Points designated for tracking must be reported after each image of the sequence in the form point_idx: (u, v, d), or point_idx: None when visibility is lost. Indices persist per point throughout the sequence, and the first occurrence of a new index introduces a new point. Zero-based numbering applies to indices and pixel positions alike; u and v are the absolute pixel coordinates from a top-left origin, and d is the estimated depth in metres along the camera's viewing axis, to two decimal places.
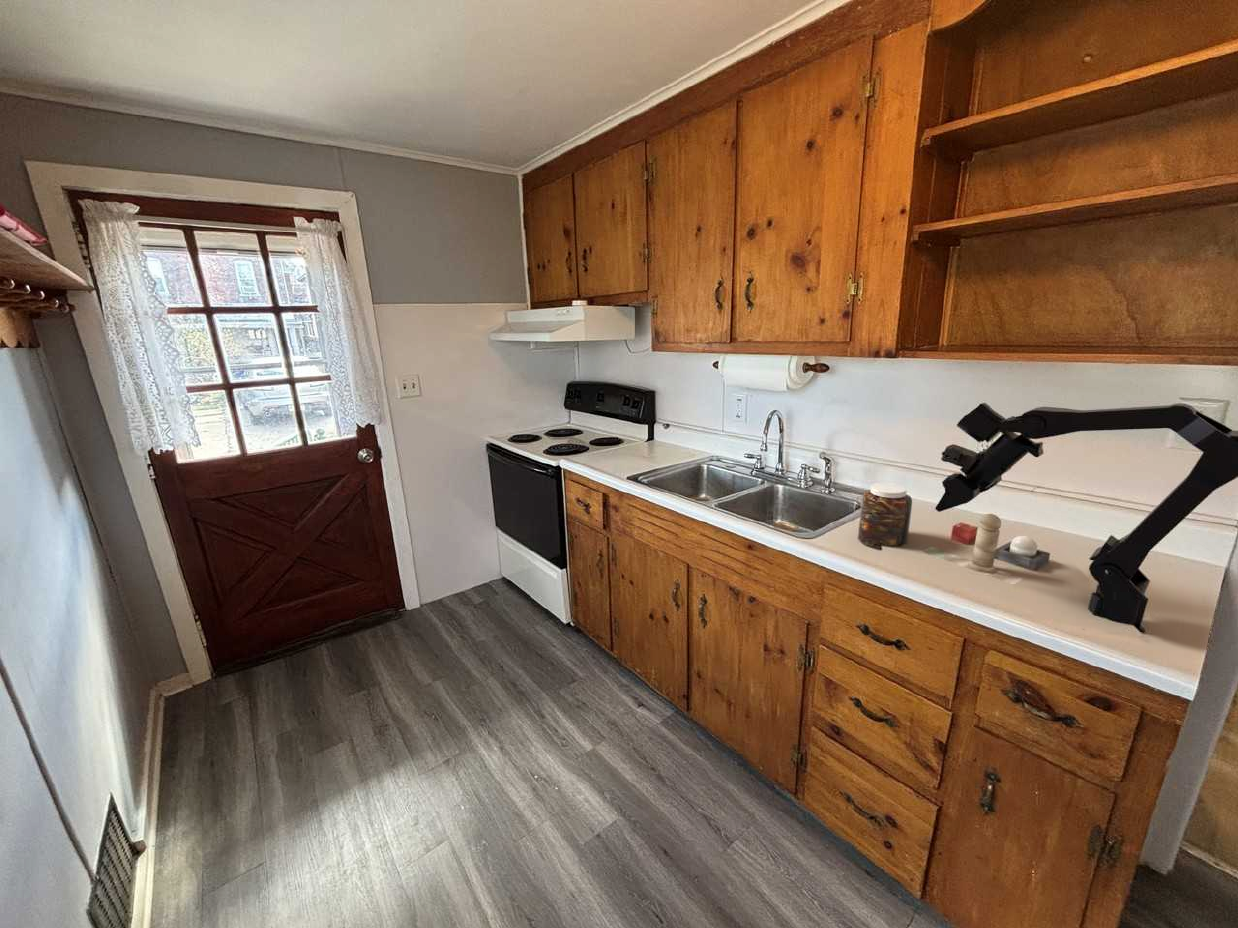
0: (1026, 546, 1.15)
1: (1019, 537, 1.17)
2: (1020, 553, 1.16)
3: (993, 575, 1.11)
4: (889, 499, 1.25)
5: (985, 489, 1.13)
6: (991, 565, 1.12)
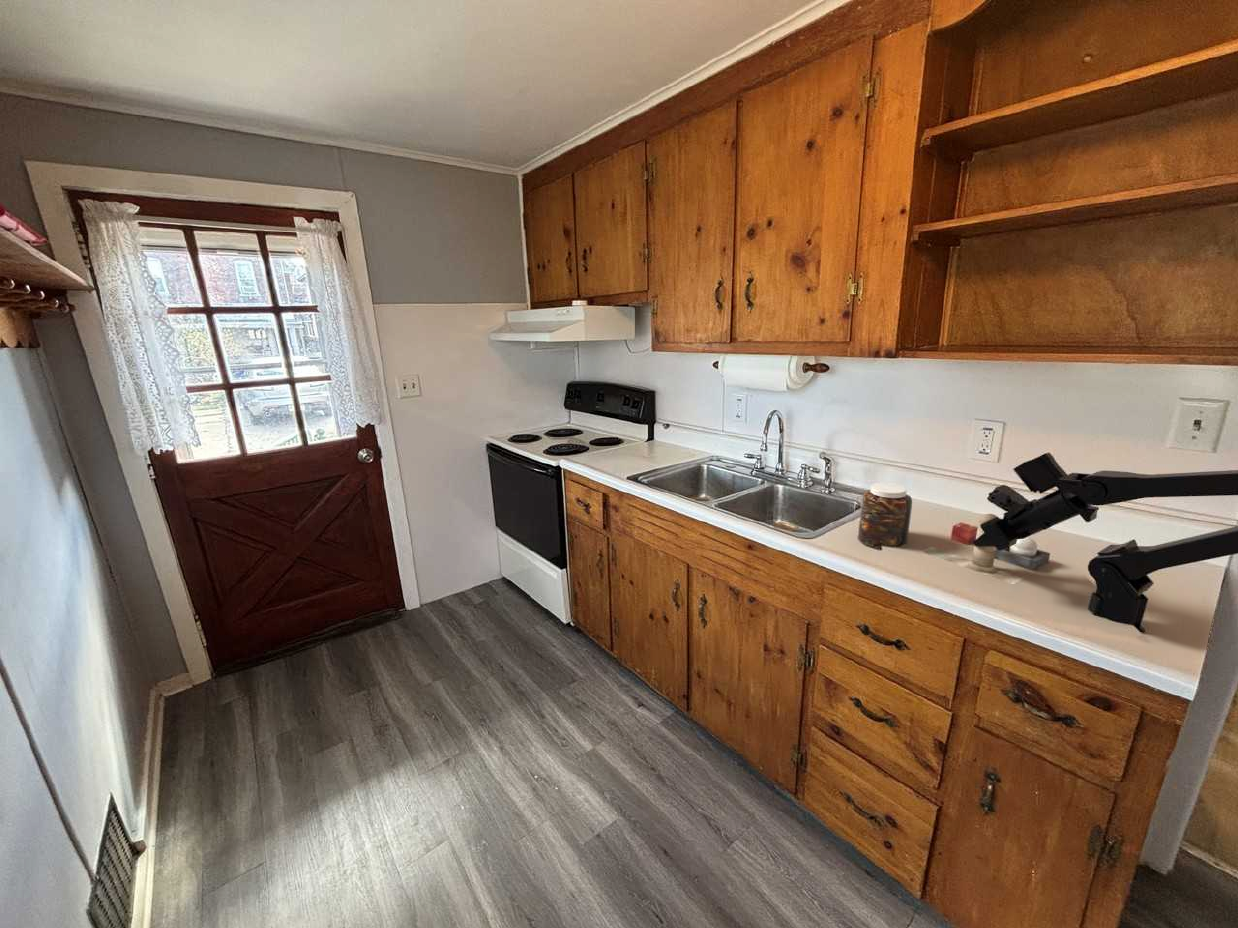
0: (1026, 546, 1.15)
1: None
2: (1020, 553, 1.16)
3: (993, 575, 1.11)
4: (889, 499, 1.25)
5: (1020, 537, 1.09)
6: (991, 565, 1.12)
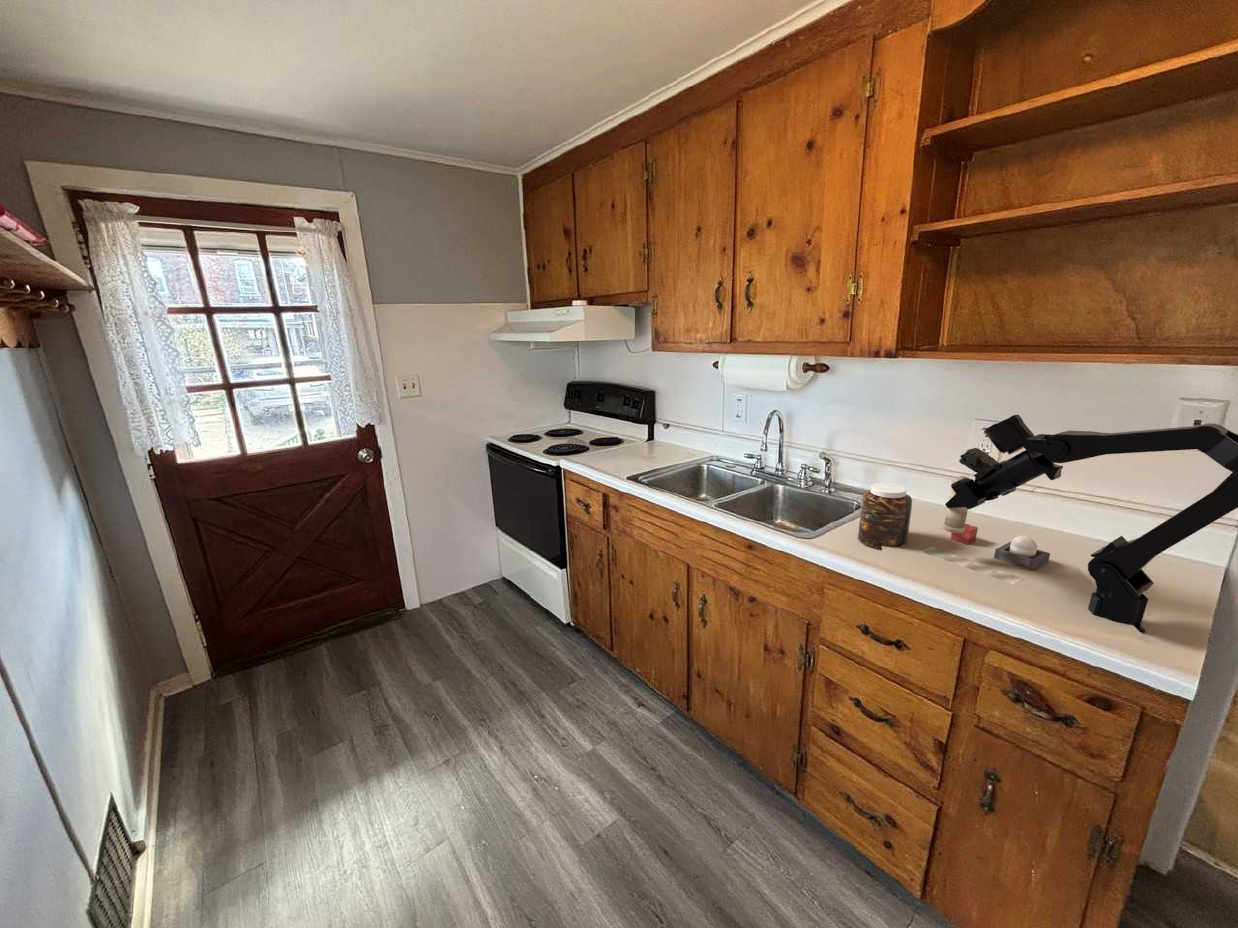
0: (1026, 546, 1.15)
1: (1019, 537, 1.17)
2: (1020, 553, 1.16)
3: (993, 575, 1.11)
4: (889, 499, 1.25)
5: (990, 498, 1.13)
6: (962, 526, 1.16)
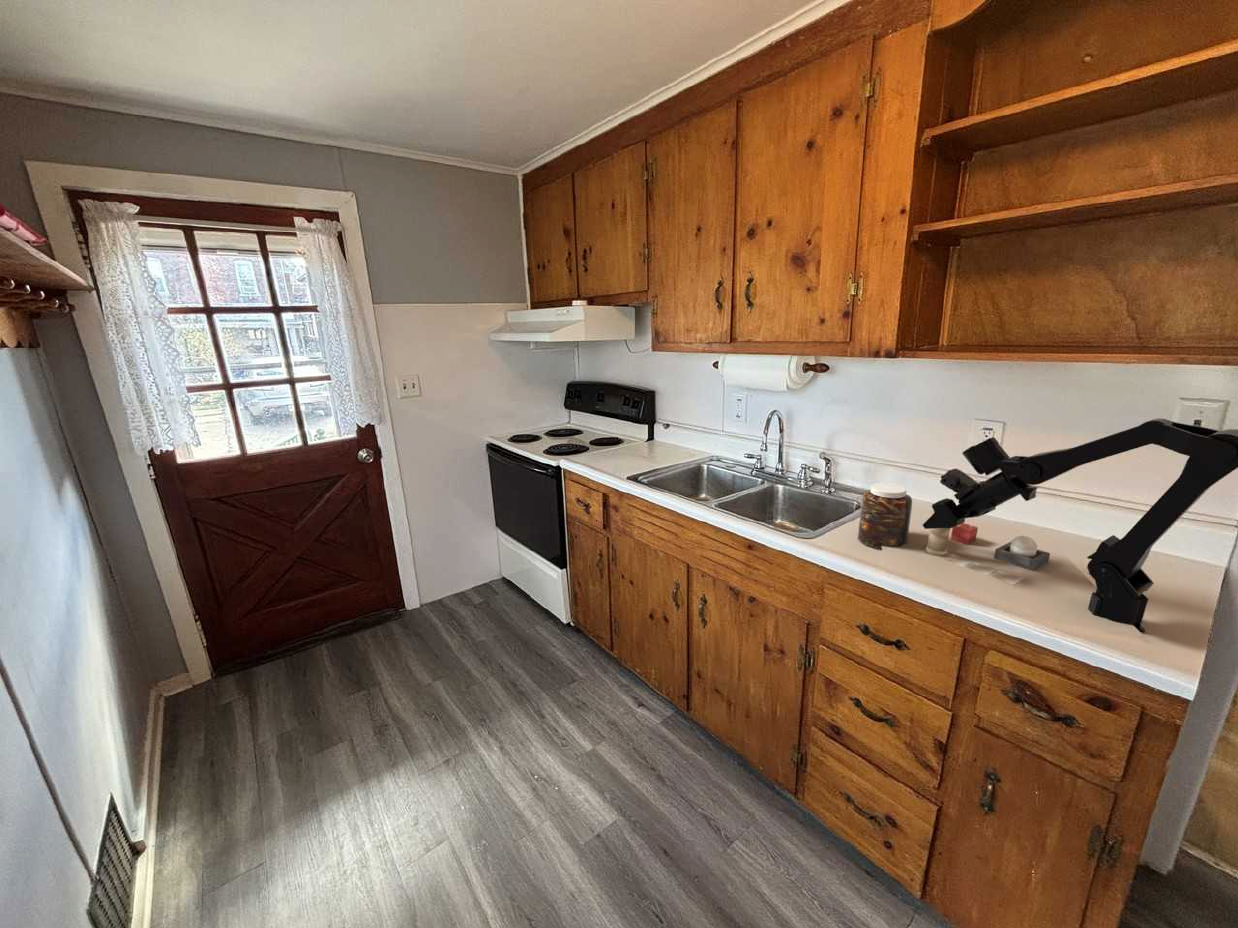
0: (1026, 546, 1.15)
1: (1019, 537, 1.17)
2: (1020, 553, 1.16)
3: (993, 575, 1.11)
4: (889, 499, 1.25)
5: (976, 515, 1.18)
6: (944, 549, 1.20)
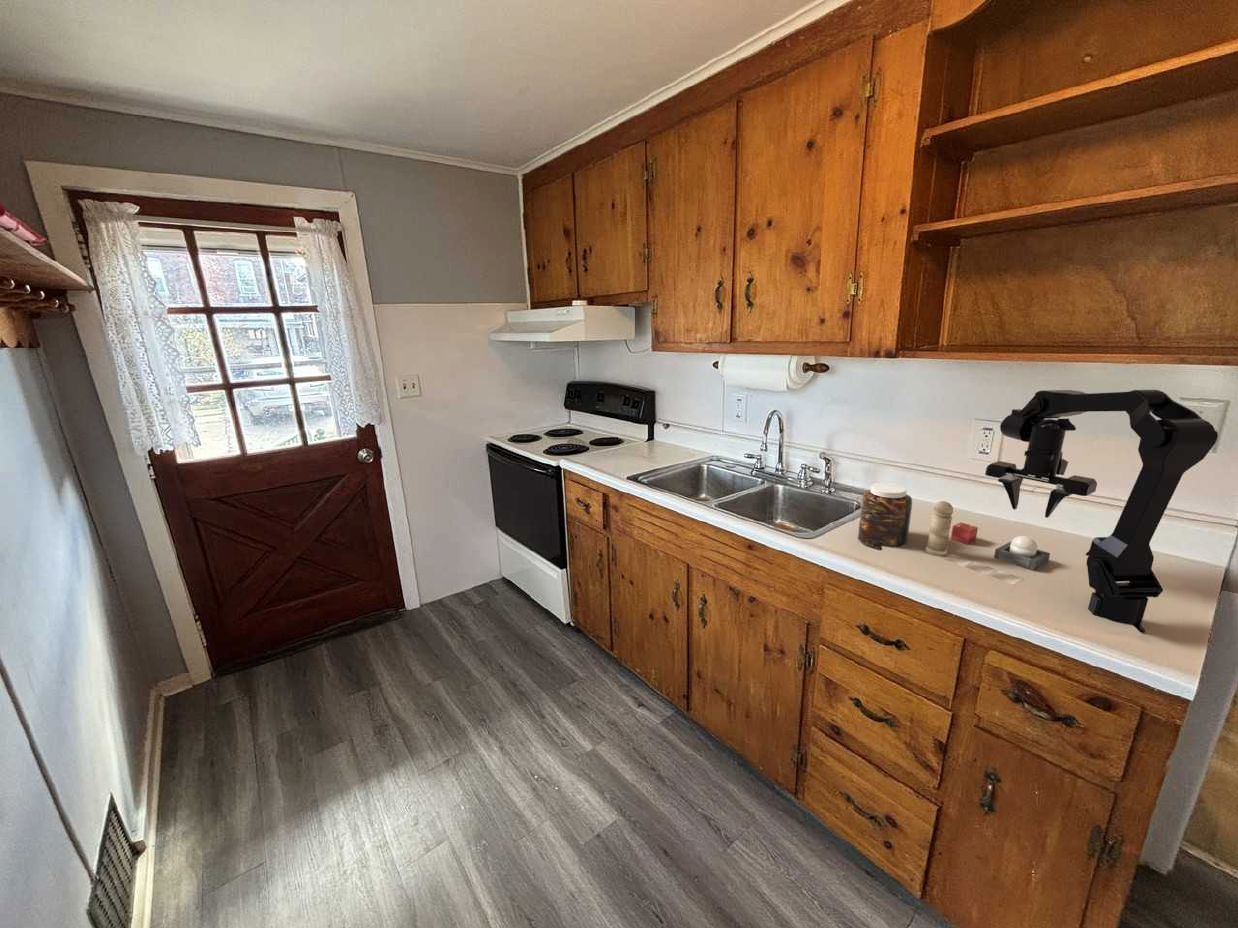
0: (1026, 546, 1.15)
1: (1019, 537, 1.17)
2: (1020, 553, 1.16)
3: (993, 575, 1.11)
4: (889, 499, 1.25)
5: None
6: (944, 549, 1.20)
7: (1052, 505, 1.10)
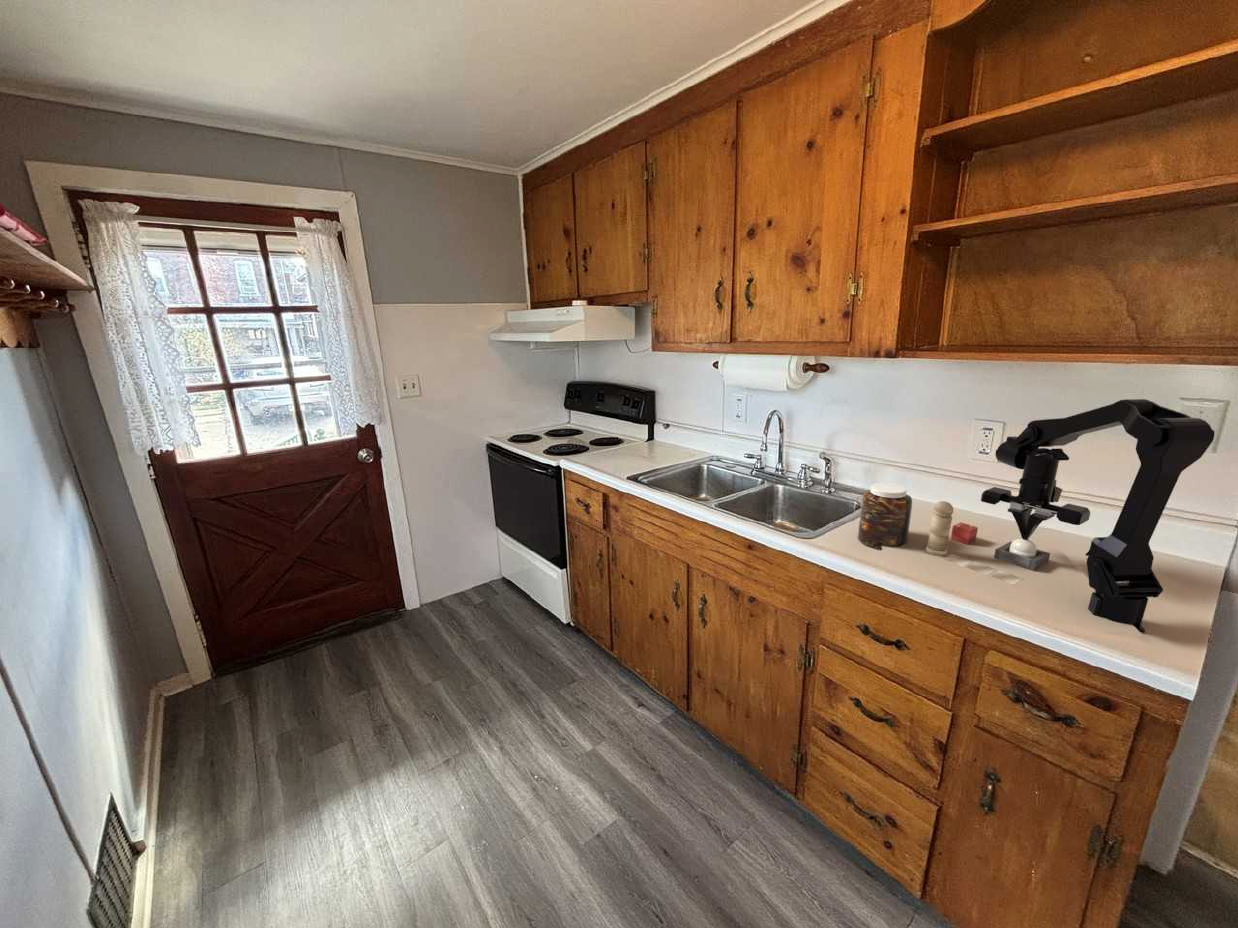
0: (1025, 549, 1.15)
1: (1018, 540, 1.17)
2: None
3: (993, 575, 1.11)
4: (889, 499, 1.25)
5: None
6: (944, 549, 1.20)
7: (1031, 528, 1.14)
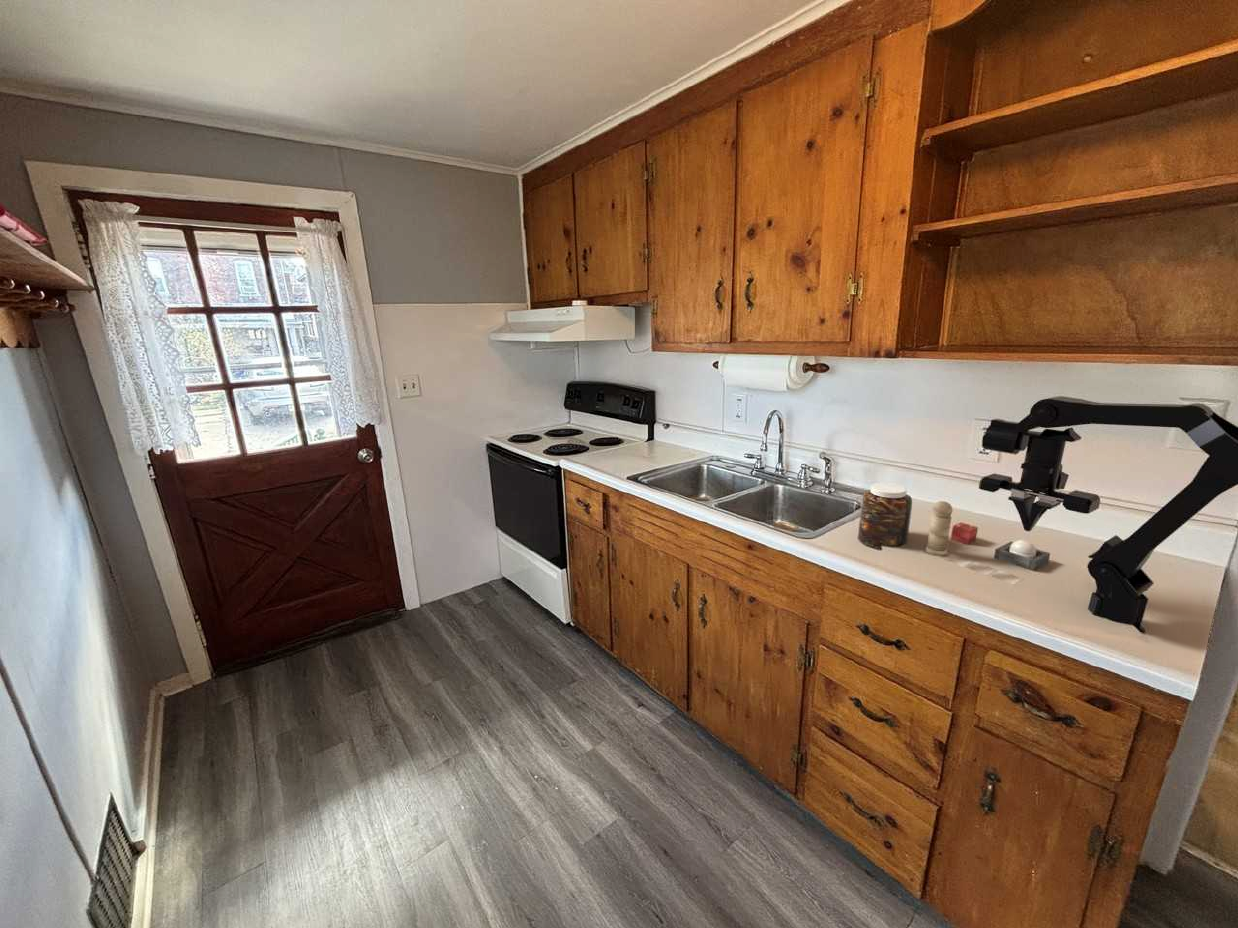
0: (1025, 550, 1.15)
1: (1018, 541, 1.17)
2: None
3: (993, 575, 1.11)
4: (889, 499, 1.25)
5: None
6: (944, 549, 1.20)
7: (1034, 518, 1.03)
